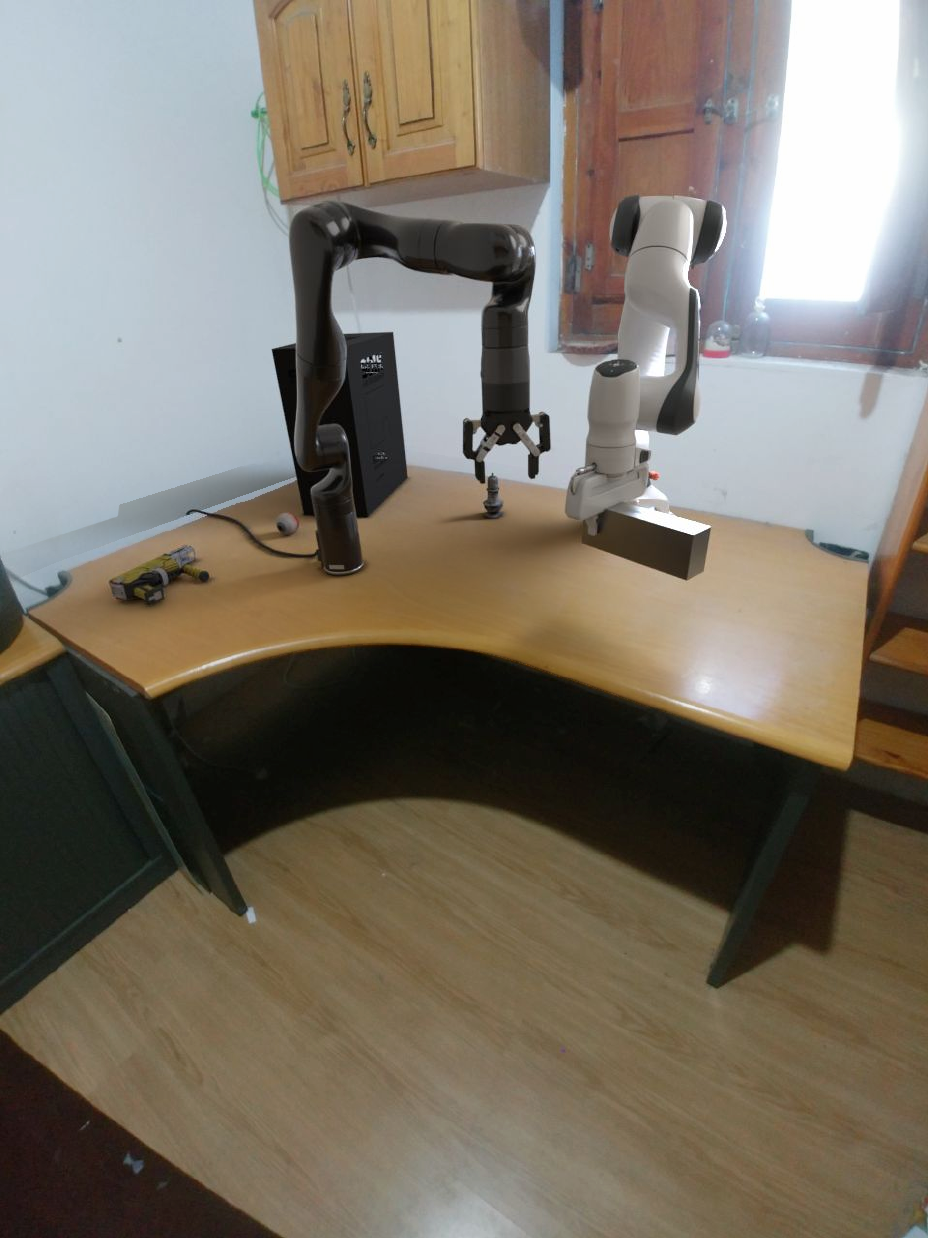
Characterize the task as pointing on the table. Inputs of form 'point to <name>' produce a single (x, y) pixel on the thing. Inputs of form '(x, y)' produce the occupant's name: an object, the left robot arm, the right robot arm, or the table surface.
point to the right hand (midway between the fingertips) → (604, 529)
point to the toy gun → (155, 576)
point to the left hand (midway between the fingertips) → (507, 480)
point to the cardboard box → (356, 419)
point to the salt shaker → (493, 499)
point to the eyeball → (287, 523)
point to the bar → (651, 539)
